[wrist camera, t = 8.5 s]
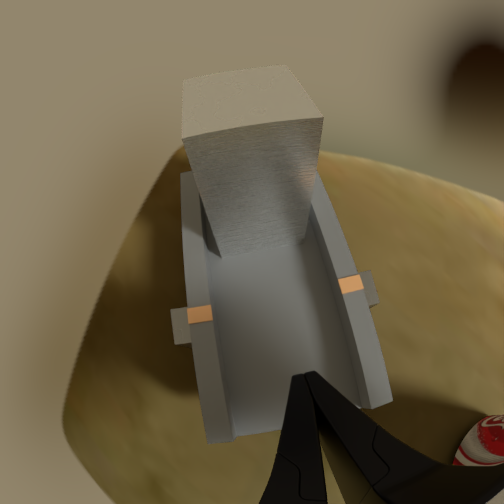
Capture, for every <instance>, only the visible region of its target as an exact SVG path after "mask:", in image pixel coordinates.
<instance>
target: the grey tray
mask: <svg viewBox="0 0 504 504" xmlns="http://www.w3.org/2000/svg"><path fill="white" fill-rule="evenodd" d="M180 185H181V219H182V240H183V257H184V271H185V284H186V295H187V306H188V308H187V315H188V324H189V325H190V334H191V342H192V350H193V358H194V365H195V372H196V379H197V386H198V392H199V398H200V404H201V410H202V416H203V421H204V427H205V432H206V437H207V442H208V444H212V443H223V442H233V441H234V440H235V438H236V437H237V436H243V435H250V434H257V433H263V432H269V431H275V430H280V429H282V425H283V420H284V415H285V410H286V405H287V399H288V394H289V388H290V383H291V377H292V376H293V375H296V374H300V373H303V374H304V373H305V372H309V371H313V370H314V371H316V372H318V373H319V374H320V375H321V376H322V377H323V378H324V379H325V380H327V381H328V382H329V383H330V384H331V385H332V386H333V387H335V388H336V389H337V390H338V391H339V392H340V393H341V394H343V395H344V396H345V397H346V398H347V399H348V400H350V401H351V402H352V403H353V404H354V405H355V406H357V407H358V408H359V409H360V408H367V409H374V408H376V407H379V406H382V405H384V404H387V403H389V402H392V401H393V398H392V393H391V388H390V384H389V380H388V375H387V371H386V367H385V363H384V359H383V355H382V351H381V347H380V344H379V340H378V336H377V333H376V329H375V326H374V322H373V319H372V316H371V312H370V309H369V306H368V303H367V299H366V296H365V293H364V290H363V289H364V287H363V284H362V281H361V278H360V275H358V272H357V269H356V266H355V264H354V261H353V258H352V255H351V253H350V250H349V247H348V244H347V242H346V239H345V237H344V234H343V231H342V229H341V226H340V224H339V221H338V219H337V216H336V214H335V211H334V209H333V206H332V204H331V202H330V199H329V197H328V195H327V192H326V190H325V188H324V185H323V183H322V181H321V179H320V176H319V174H318V172H317V170H316V175H315V181H314V188H313V194H312V200H311V205H310V211H309V217H308V222H307V228H306V233H305V239H304V243H300V244H295V245H289V246H284V247H279V248H273V249H268V250H263V251H258V252H252V253H247V254H242V255H237V256H231V257H226V258H222V257H221V254H220V251H219V248H218V246H217V243H216V240H215V237H214V234H213V231H212V228H211V226H210V223H209V220H208V217H207V214H206V211H205V208H204V205H203V202H202V199H201V196H200V193H199V190H198V187H197V184H196V181H195V178H194V175H193V172H192V171H188V172H183V173H180Z"/></svg>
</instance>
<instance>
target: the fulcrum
mask: <svg viewBox="0 0 504 504" xmlns="http://www.w3.org/2000/svg"><path fill="white" fill-rule="evenodd" d="M358 275H360V278H361V281H362V284H363V287H364V289H363V290H364V293H365V296H366V299H367V303H368V306H369V309H370V308H371V307H373V306H375V305H377V304H378V303H380V302H379V298H378V295H377V291H376V288H375V284H374V281H373V278H372V274H371V271H370V270H369V271H364V272H360V273H358ZM187 308H188V307H183V308H177V309H170V310H171V319H172V327H173V335H174V343H175V345H179V346H184V347H188V348H192V342H191V334H190V325H189V324H188V315H187Z"/></svg>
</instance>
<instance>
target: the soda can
mask: <svg viewBox="0 0 504 504" xmlns="http://www.w3.org/2000/svg"><path fill="white" fill-rule="evenodd" d="M501 463H504V415H492V416H487V417H485V418H483V419H482V420H480V421H479V422H478V423H476V424H475V425H474V426H473V427H472V428H471V430H470V431H469V432H468V433H467V435H466V436H465V438H464V439H463V441H462V442H461V444H460V446H459V448H458V450H457V452H456V455H455V458H454V461H453V465H463V466H495V465H499V464H501Z"/></svg>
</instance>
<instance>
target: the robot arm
mask: <svg viewBox="0 0 504 504" xmlns="http://www.w3.org/2000/svg"><path fill="white" fill-rule="evenodd" d="M320 443H321V445H322V448H323V450H324V453H325V455H326V458H327V460H328V462H329V465H330V467H331V470H332V472H333V474H334V477H335V479H336V482H337V484H338V486H339V489H340V491H341V494H342V496H343V498H344V501H345V503H346V504H504V463H501V464H499V465H495V466H463V465H449V464H444V463H440V462H437V461H435V460H433V459H431V458H429V457H427V456H425V455H424V454H422V453H420V452H418V451H416V450H415V449H413V448H411V447H409V446H408V445H406V444H404V443H403V442H401V441H400V440H398V439H397V438H395V437H394V436H392V435H391V434H390V433H388V432H387V431H386V430H385V429H383V428H382V427H381V426H380V425H378V426H377V423H376V422H375V421H373V420H372V419H371V418H370V417H369V416H367V415H366V414H365V413H364V412H363V411H361V410H360V409H359V408H358V407H357V406H355V405H354V404H353V403H352V402H351V401H350V400H348V399H347V398H346V397H345V396H344V395H343V394H341V393H340V392H339V391H338V390H337V389H336V388H335V387H333V386H332V385H331V384H330V383H329V382H328V381H327V380H325V379H324V378H323V377H322V376H321V375H320V374H319V373H318V372H316V371H314V370H313V371H309V372H305V373H304V374H303V373H300V374H296V375H293V376H292V377H291V383H290V388H289V394H288V399H287V405H286V410H285V415H284V420H283V425H282V430H281V435H280V440H279V444H278V449H277V454H276V457H275V462H274V465H273V469H272V472H271V476H270V478H269V481H268V484H267V486H266V489H265V491H264V493H263V495H262V498H261V500H260V502H259V504H328V502H327V492H326V484H325V476H324V468H323V461H322V454H321V446H320Z"/></svg>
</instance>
